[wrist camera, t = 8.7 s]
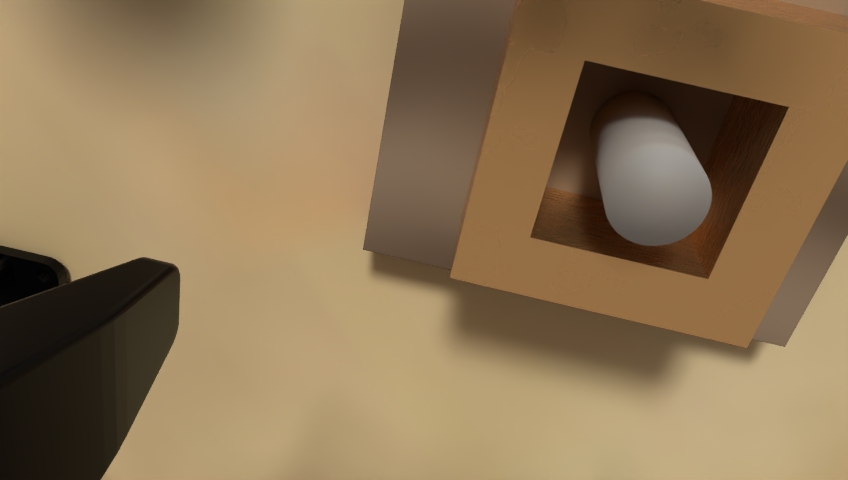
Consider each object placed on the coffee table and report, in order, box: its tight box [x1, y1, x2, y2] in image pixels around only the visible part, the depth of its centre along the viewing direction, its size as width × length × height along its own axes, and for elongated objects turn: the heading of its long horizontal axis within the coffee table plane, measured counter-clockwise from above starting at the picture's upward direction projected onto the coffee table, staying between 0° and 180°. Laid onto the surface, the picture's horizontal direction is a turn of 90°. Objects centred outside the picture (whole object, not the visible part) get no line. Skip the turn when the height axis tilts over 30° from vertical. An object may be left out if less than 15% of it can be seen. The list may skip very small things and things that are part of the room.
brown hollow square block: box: [450, 0, 848, 348], centre depth 16 cm, size 7×7×3 cm
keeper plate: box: [363, 0, 848, 347], centre depth 16 cm, size 10×12×6 cm
